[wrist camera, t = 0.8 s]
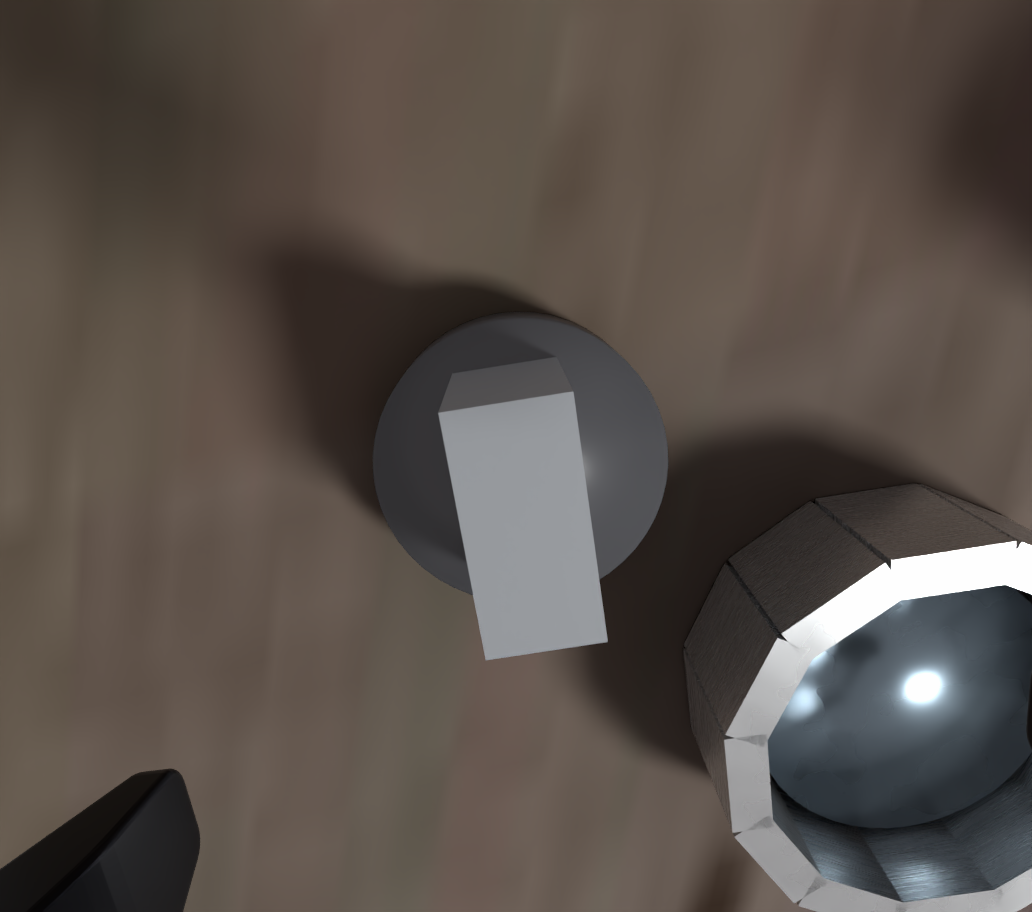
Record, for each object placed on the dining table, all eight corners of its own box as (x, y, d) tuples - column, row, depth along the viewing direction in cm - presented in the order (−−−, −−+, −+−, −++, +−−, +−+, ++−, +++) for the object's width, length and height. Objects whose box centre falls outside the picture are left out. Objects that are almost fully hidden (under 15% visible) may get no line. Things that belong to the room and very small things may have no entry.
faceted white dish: (702, 835, 23) (743, 955, 19) (669, 521, 20) (710, 588, 16) (1044, 786, 23) (1156, 896, 19) (1063, 460, 20) (1200, 513, 16)
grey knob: (413, 585, 20) (380, 721, 15) (359, 335, 18) (295, 377, 13) (664, 547, 20) (729, 669, 14) (636, 290, 18) (699, 313, 12)
